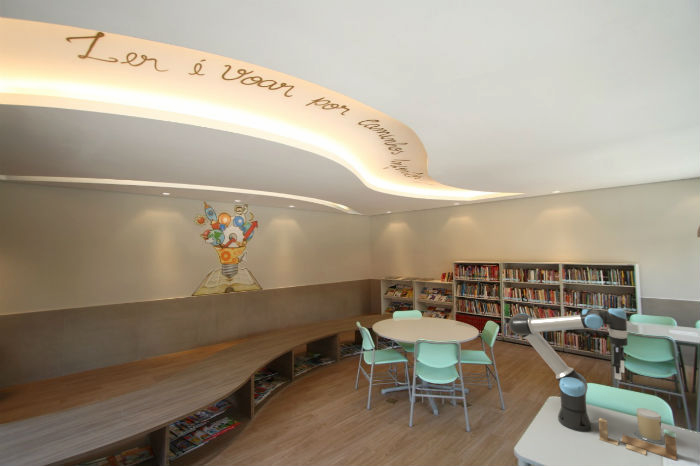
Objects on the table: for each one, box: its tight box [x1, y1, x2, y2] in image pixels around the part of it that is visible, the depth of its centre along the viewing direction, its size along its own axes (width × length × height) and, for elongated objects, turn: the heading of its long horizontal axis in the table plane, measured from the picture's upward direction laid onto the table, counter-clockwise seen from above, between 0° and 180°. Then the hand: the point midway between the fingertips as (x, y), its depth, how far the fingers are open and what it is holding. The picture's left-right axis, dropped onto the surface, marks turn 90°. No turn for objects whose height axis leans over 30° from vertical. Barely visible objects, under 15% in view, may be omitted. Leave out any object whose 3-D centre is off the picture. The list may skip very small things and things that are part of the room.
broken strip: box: [598, 417, 647, 456], centre depth 150 cm, size 17×4×10 cm, turn 44°
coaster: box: [634, 428, 665, 445], centre depth 157 cm, size 12×12×1 cm
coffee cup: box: [635, 407, 662, 441], centre depth 157 cm, size 9×9×12 cm
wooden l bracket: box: [620, 428, 678, 461], centre depth 148 cm, size 19×8×10 cm, turn 44°
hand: (619, 375), depth 168 cm, fingers open, 13 cm apart
